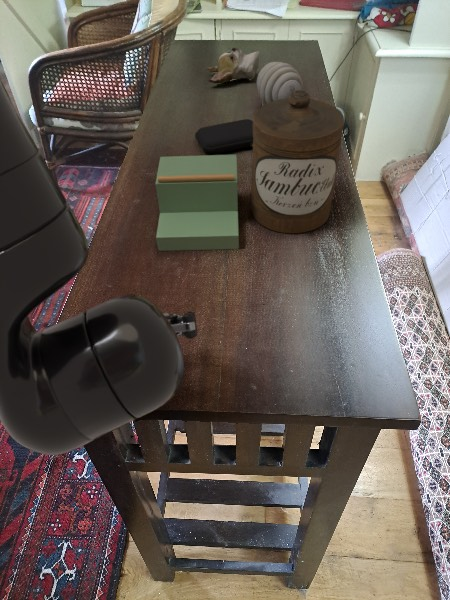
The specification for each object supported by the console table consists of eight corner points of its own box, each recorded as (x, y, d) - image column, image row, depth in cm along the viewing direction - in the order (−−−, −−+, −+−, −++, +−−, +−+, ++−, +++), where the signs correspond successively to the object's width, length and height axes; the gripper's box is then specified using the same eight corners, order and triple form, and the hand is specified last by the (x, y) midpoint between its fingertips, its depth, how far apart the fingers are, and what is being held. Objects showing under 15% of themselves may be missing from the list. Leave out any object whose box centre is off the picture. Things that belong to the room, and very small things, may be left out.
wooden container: (252, 235, 82) (254, 114, 66) (250, 188, 92) (251, 74, 76) (335, 233, 81) (358, 112, 65) (324, 187, 91) (341, 72, 75)
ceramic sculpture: (262, 51, 119) (205, 58, 119) (263, 85, 126) (209, 92, 126) (256, 38, 127) (203, 45, 127) (257, 71, 133) (206, 77, 133)
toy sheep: (276, 94, 122) (279, 49, 114) (316, 118, 112) (322, 70, 104) (243, 104, 119) (243, 58, 111) (281, 129, 108) (284, 81, 100)
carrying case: (207, 161, 100) (269, 148, 103) (206, 148, 97) (270, 135, 100) (193, 139, 106) (251, 127, 110) (192, 126, 104) (252, 115, 107)
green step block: (158, 251, 80) (149, 202, 72) (166, 198, 90) (159, 151, 83) (238, 249, 79) (238, 200, 72) (237, 196, 90) (236, 149, 83)
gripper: (194, 291, 44) (190, 290, 60) (42, 313, 42) (79, 307, 58) (206, 368, 44) (198, 347, 60) (55, 393, 42) (89, 364, 59)
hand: (140, 327), depth 59 cm, fingers open, 8 cm apart
